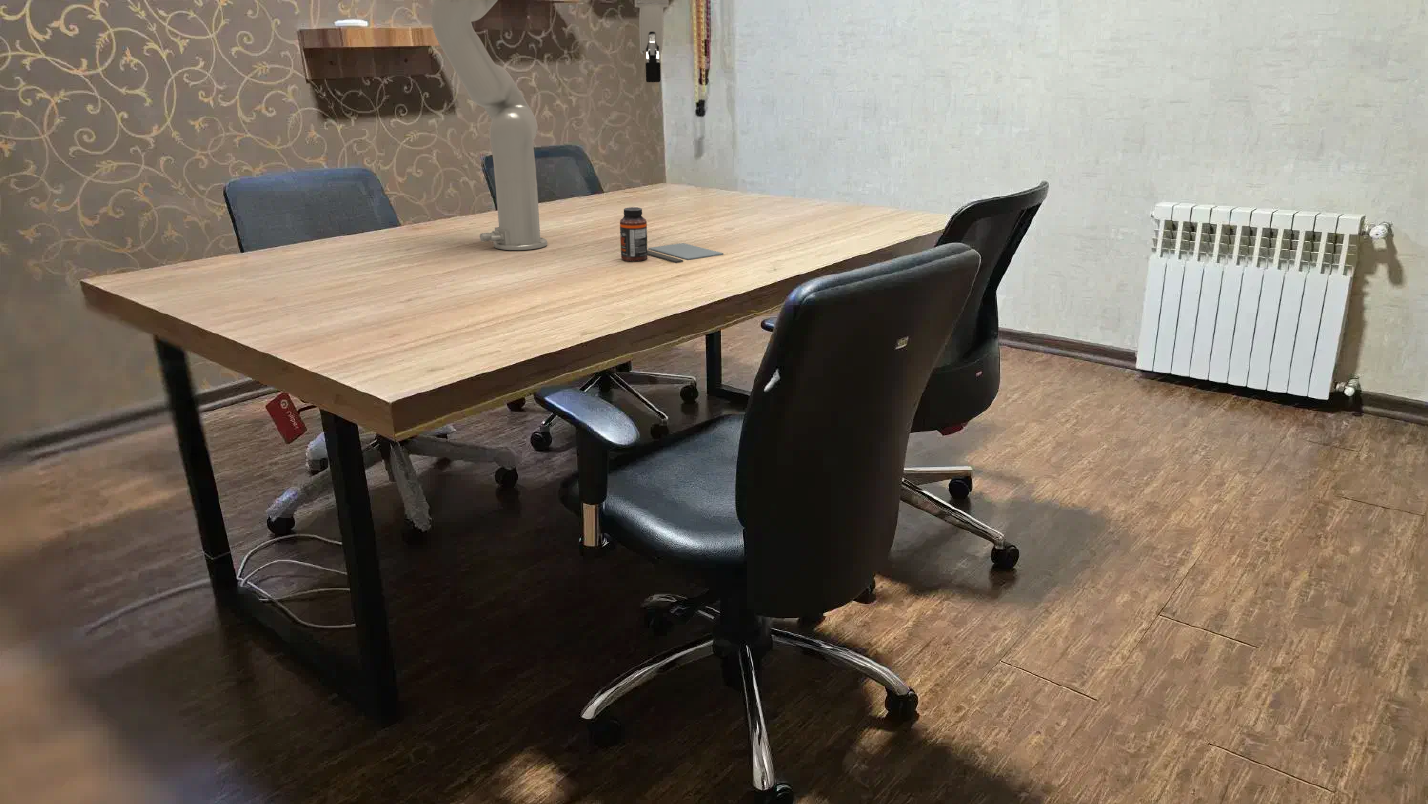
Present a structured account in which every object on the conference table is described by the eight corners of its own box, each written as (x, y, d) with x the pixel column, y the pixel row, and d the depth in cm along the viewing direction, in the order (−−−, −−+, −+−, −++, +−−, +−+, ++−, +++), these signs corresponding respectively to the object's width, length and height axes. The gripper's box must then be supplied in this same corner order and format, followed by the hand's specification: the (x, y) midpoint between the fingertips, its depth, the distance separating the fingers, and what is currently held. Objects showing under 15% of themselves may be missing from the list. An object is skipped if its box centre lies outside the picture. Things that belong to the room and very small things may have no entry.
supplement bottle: (617, 258, 218) (615, 207, 214) (642, 255, 220) (640, 205, 216) (626, 263, 213) (624, 211, 209) (651, 260, 215) (650, 209, 211)
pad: (687, 260, 215) (687, 258, 215) (648, 249, 227) (648, 247, 227) (723, 254, 221) (723, 253, 221) (682, 244, 233) (682, 243, 233)
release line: (675, 263, 212) (675, 261, 212) (631, 250, 226) (631, 248, 226) (683, 261, 213) (683, 260, 213) (638, 249, 227) (638, 247, 227)
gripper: (635, 2, 222) (637, 80, 228) (633, -2, 206) (635, 83, 212) (668, 2, 223) (669, 80, 228) (668, -2, 206) (670, 82, 212)
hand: (653, 81), depth 220 cm, fingers open, 9 cm apart
